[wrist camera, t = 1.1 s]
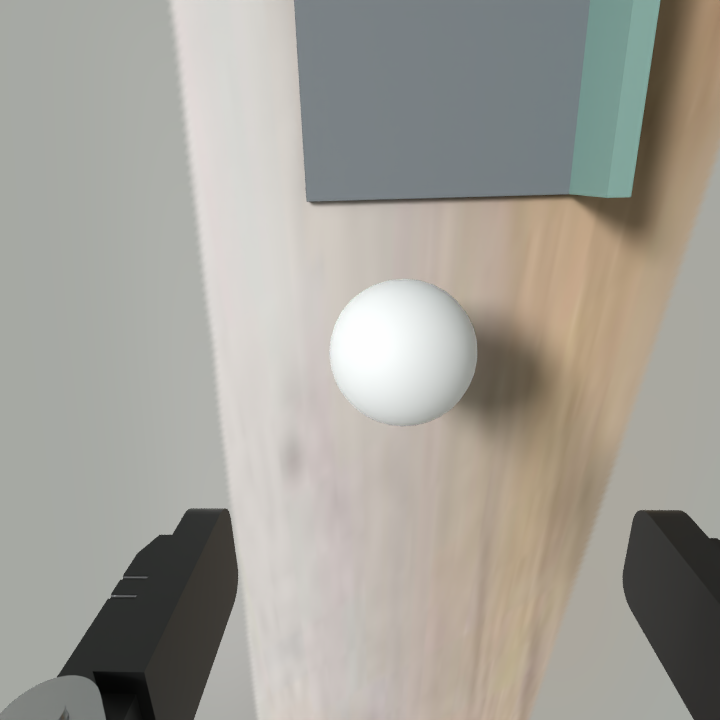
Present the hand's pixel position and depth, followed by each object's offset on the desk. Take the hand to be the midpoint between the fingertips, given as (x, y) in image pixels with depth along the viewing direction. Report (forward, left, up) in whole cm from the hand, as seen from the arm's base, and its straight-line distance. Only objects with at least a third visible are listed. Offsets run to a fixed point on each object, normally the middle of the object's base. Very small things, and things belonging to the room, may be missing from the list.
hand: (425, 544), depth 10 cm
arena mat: (-10, +10, -20) cm, 24 cm away
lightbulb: (0, 0, -20) cm, 20 cm away
